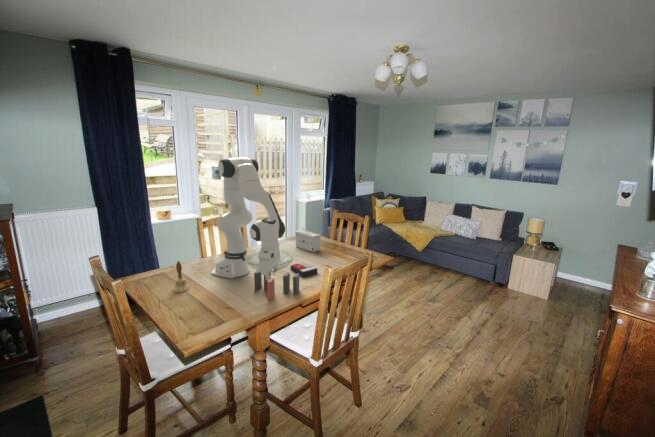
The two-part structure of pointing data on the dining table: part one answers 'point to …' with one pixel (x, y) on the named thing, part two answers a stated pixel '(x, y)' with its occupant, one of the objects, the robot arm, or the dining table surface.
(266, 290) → the domino
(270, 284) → the domino
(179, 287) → the hand bell
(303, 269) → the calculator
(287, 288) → the domino
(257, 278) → the domino
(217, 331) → the dining table surface
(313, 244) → the stereo radio cassette player
